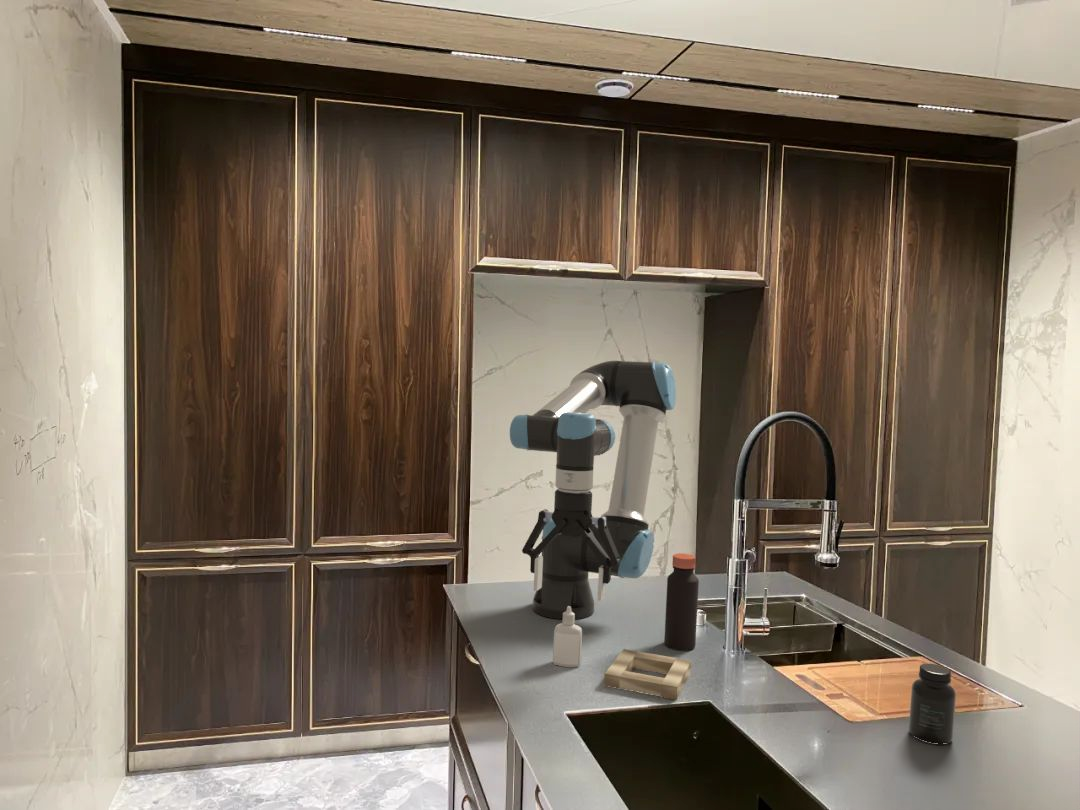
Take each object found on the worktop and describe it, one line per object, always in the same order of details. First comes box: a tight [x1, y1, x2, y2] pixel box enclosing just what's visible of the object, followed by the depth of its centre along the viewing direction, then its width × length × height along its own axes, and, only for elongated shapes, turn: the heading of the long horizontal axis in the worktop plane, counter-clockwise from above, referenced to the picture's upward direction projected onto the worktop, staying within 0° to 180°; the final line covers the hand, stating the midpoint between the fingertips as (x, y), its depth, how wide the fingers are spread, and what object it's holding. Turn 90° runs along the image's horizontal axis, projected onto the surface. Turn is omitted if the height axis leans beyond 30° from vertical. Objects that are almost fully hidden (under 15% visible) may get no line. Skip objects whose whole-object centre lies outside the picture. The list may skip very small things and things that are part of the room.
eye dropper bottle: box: [552, 606, 583, 668], centre depth 165 cm, size 4×6×12 cm
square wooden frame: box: [603, 648, 692, 701], centre depth 159 cm, size 14×14×2 cm
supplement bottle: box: [908, 663, 957, 744], centre depth 139 cm, size 7×7×12 cm
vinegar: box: [663, 552, 700, 652], centre depth 177 cm, size 7×7×20 cm
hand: (569, 593), depth 164 cm, fingers open, 13 cm apart
